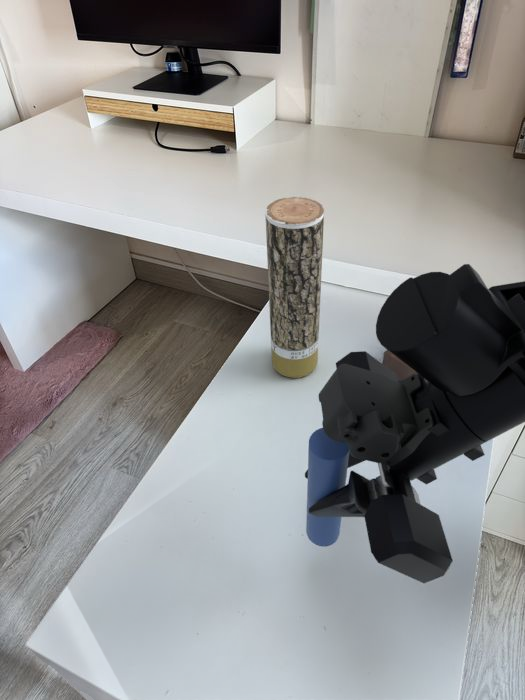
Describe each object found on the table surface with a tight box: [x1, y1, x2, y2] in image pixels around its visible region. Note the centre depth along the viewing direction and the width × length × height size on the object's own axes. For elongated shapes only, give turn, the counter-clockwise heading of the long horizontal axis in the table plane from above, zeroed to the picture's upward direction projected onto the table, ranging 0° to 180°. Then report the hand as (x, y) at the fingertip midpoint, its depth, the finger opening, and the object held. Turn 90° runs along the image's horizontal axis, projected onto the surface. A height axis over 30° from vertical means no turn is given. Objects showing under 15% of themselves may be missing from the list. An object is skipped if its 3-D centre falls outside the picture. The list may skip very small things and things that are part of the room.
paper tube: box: [265, 196, 325, 379], centre depth 67 cm, size 7×7×25 cm
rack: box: [381, 349, 418, 381], centre depth 73 cm, size 7×12×4 cm, turn 130°
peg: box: [305, 427, 350, 548], centre depth 44 cm, size 3×3×14 cm
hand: (309, 494), depth 44 cm, fingers closed on peg, 3 cm apart
